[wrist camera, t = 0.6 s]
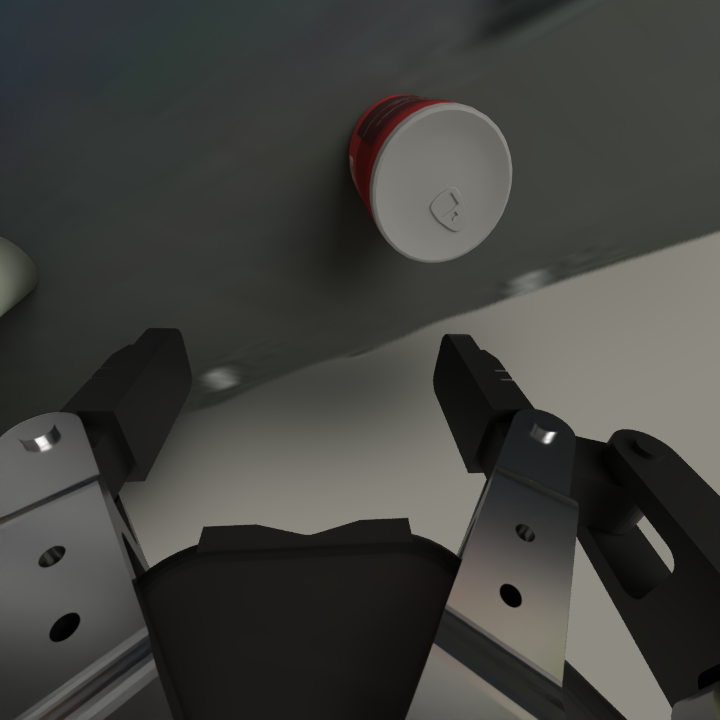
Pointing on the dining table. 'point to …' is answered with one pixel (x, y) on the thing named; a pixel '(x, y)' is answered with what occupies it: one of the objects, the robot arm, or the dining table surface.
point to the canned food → (430, 175)
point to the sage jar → (15, 275)
